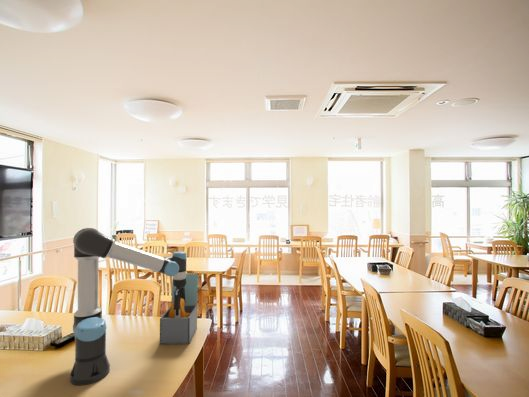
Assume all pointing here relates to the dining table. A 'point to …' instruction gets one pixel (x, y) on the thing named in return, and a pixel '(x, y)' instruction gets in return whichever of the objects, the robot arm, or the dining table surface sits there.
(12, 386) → the dining table surface
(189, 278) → the lid
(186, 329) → the box
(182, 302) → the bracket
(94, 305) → the robot arm
